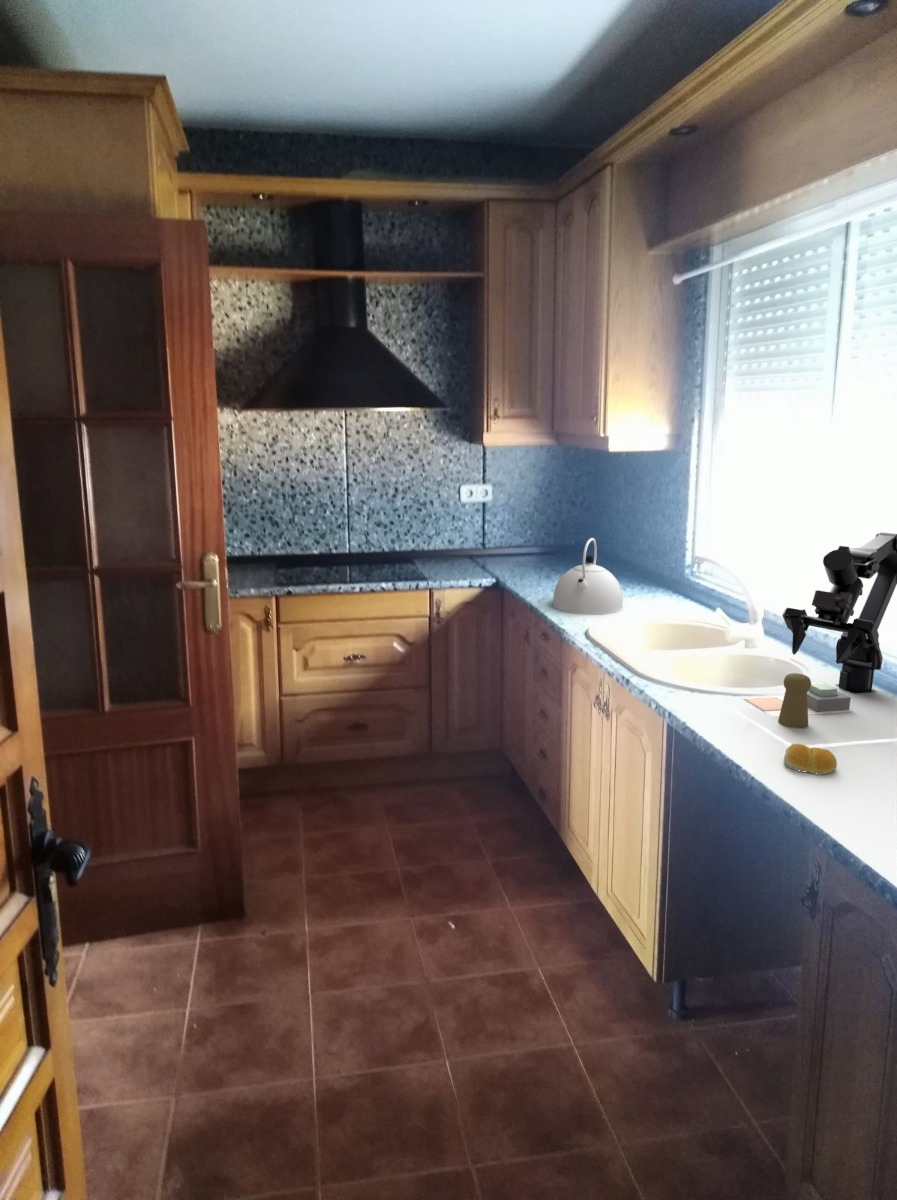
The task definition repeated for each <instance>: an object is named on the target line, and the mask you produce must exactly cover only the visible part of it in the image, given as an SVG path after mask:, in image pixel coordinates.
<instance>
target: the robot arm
mask: <svg viewBox="0 0 897 1200" xmlns="http://www.w3.org/2000/svg"><path fill="white" fill-rule="evenodd" d="M822 563H823V567H824V570H825V573H826V575H827V579H828V582H829V583H831V584H832V586H831V588H830V589H829V591H823V590H815V591H814V592H815V593H814V595H813V598H812V603H811V606H813V607H815V609H814V613H815V614H816V615H817V616H816V617H815V616H810V615H808V614H807V611H806V609H805V608H801V607H793V606H787V607H786V608H784V610H783V613H782V614H781V615H782V618H783V620H784V623H785V625H786V627H787V629H788V630H790V631H791V633H792V642H791V643H792V645H791V653H792V655H794V656H795V655H796V654H797V652H798V651H799V649H800V647H801V646H802V644H803V642H804V640H805V638H806V636H807V633H806V632H807V631H808V630H809V627H815V628H821V629H824V630H825V629H826V630H828V631H834V632H838V633H839V632H840V633H842V634H841V635H840V637H839V638H838V639H837V642H836V647H835V653H836V655H835V657H836V659H835V663H836V664H841V666H842V667H841V670H840V671H839V680H838V683H837V684H835V687H838V688H839V689H841V690H844V691H847V692H849V693H851V694H865V693H876V692H877V691H876V690H875V689H873V684H874V673H875V671H880V670H881V669H882V666H883V658H884V657H883V654H882V651H881V648H880V641H879V638H880V635H879V632H878V630H879V627H880V626H881V623H882V620H883V618H884V615H885V613H886V610H887V608H888V606H889V604H890V602H891V599H892V596H893V595H894V592H895V589H896V587H897V533H892V532H891V533H890V532H884V531H883V532H879V533H878V532H877V533H876V534H875V537H874V538H872V539H871V540H870V541H869V542H867V543H865V544H864V545H862V546H861V547H855V548H853V547H852V548H851V547H850V546H844V545H838V548H837V549H834V550H832V551H830V552H828V553H827V554H826V555H824V556H823V560H822ZM875 575H876V577H875V579H874V581H873V583H872V586H871V588H870V590H869V593H868V595H867V597H866V600H865V602H864V604H863V606H862V608H861V611H860V614H859V616H858V617H857V618H854V619H853V621H852V623H851V622H849V619H850V617H853V616H854V613H855V610H854V608H855V606H856V604H857V602H858V599H859V597H860V596H862V595H863V588H864V584H863V581H862V579H868V580H870V579H872V578H873V577H874V576H875Z"/></svg>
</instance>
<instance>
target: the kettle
mask: <svg viewBox="0 0 897 1200" xmlns="http://www.w3.org/2000/svg"><path fill="white" fill-rule="evenodd" d="M591 542H593V552H594V553H593V555H592V554H588V555H587V550H588V547H589V544H590V543H591ZM597 550H598V549H597V541H596V539H595V538H594V537H590V538H589V539H588V540H587V541H586V544H585V546H584V549H583V555H582V564H579V565H576V566H574V567H572V568H570V569H569V570H568V571H566V572H565V573H563V575H562V576H561V577H560V578H559V580H558V581H557V582H556V585H555V588H554V590H553V597H552V607H553V608H554V609H557V610H559V611H562V612H565V613H571V614H576V615H577V614H578V615H589V616H591V615H595V616H597V615H611V614H617V613H619V611H620V612H622V611H623V610H622V608H623V609H624V607H623V606H624V605H623V604H624V603H623V602H624V598H623V596H624V594H623V591H622V587H621V585H620V582H619V581H618V579H617V578H616V577H615V575H613V573H612V572H610V571H609V570H608V569H606V568H604V566H602V565H601V566H600V565H597V564H596V562H597V555H598V553H597V552H598V551H597ZM621 610H622V611H621ZM616 612H617V613H616Z"/></svg>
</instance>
